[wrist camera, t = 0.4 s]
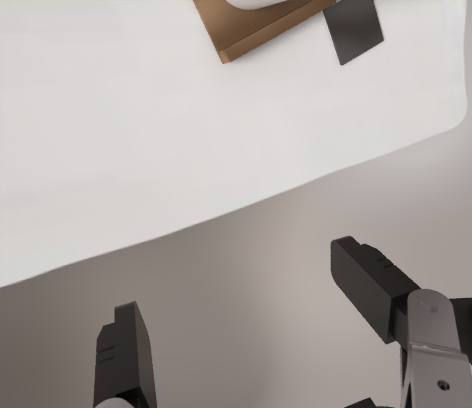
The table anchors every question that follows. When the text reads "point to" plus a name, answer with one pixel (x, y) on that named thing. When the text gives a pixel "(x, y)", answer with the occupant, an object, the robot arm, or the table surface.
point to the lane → (289, 25)
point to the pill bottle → (252, 3)
